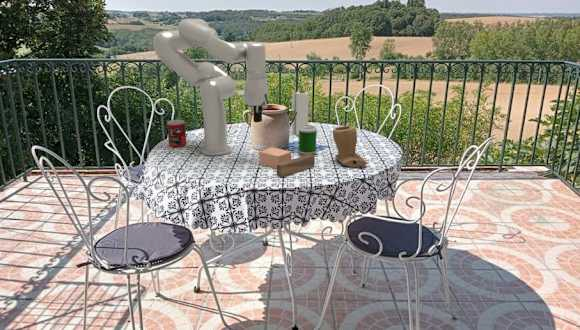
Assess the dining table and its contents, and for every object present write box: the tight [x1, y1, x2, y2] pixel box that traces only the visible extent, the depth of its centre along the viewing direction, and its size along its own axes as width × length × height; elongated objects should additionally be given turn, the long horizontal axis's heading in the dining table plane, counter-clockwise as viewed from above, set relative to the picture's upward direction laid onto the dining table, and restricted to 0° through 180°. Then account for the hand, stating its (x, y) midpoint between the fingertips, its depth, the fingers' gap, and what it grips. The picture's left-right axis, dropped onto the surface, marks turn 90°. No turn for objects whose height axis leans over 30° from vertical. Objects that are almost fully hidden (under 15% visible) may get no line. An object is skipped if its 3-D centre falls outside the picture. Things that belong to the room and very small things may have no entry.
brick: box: [258, 146, 292, 170], centre depth 178 cm, size 10×8×6 cm
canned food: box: [166, 119, 187, 148], centre depth 202 cm, size 8×8×11 cm
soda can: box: [298, 124, 318, 156], centre depth 190 cm, size 8×8×12 cm
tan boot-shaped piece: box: [332, 125, 368, 168], centre depth 178 cm, size 15×12×15 cm
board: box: [276, 154, 316, 178], centre depth 170 cm, size 3×18×4 cm, turn 136°
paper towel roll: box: [291, 91, 310, 137], centre depth 220 cm, size 7×6×21 cm
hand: (257, 121), depth 180 cm, fingers closed
